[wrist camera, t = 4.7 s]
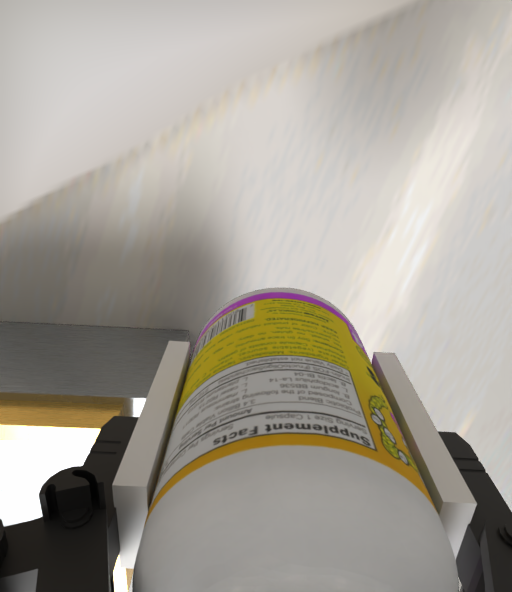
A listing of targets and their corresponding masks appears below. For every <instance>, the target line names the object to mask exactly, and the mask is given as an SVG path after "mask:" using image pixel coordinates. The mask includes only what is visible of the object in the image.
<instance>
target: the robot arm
mask: <svg viewBox="0 0 512 592" xmlns="http://www.w3.org/2000/svg"><path fill="white" fill-rule="evenodd" d="M189 364H190V342H182V341H169V342H168V345H167V348H166V350H165V353H164V355H163V358H162V360H161V363H160V365H159V368H158V370H157V373H156V375H155V378H154V380H153V383H152V385H151V388H150V391H149V393H148V396H147V398H146V401H145V403H144V406H143V408H142V411H141V413H140V416H139V417H129V416H113V417H112V418H111V419H110V420H109V421H108V422H107V423H106V424H104V425H103V426H102V427H101V429H100V431H99V433H98V435H97V437H96V439H95V443H93V445H92V447H91V449H90V453H89V454H88V455H87V457H86V459H85V461H84V463H83V465H82V466H72V467H69V468H66V469H63V470H60V471H59V472H57V473H55V474H54V475H52V476H51V477H50V478H49V479H48V480H47V481H46V482H45V483H44V484H43V485H42V487H41V490H40V492H39V500H40V505H41V511H42V517H40V518H37V519H34V520H31V521H27V522H22V523H18V524H13V525H9V526H3V522H2V520H1V519H0V592H115V587H114V576H113V571H114V568H115V565H116V562H117V559H118V556H119V561H120V568H130V569H134V565H135V560H136V556H137V552H138V548H139V544H140V541H141V537H142V533H143V529H144V525H145V521H146V517H147V514H148V511H149V507H150V504H151V500H152V497H153V494H154V490H155V487H156V483H157V480H158V476H159V472H160V469H161V465H162V462H163V458H164V455H165V451H166V448H167V444H168V441H169V437H170V433H171V430H172V426H173V422H174V419H175V415H176V412H177V408H178V404H179V401H180V397H181V394H182V390H183V386H184V383H185V379H186V375H187V372H188V368H189ZM372 366H373V369H374V371H375V373H376V376H377V378H378V380H379V382H380V384H381V387H382V389H383V391H384V393H385V396H386V399H387V401H388V403H389V405H390V407H391V409H392V412H393V414H394V416H395V419H396V421H397V423H398V425H399V428H400V430H401V432H402V434H403V437H404V439H405V441H406V444H407V446H408V448H409V450H410V453H411V455H412V457H413V459H414V462H415V464H416V466H417V468H418V470H419V473H420V475H421V477H422V480H423V482H424V484H425V486H426V488H427V491H428V493H429V495H430V497H431V499H432V502H433V504H434V506H435V508H436V510H437V513H438V515H439V517H440V520H441V522H442V525H443V527H444V529H445V532H446V534H447V536H448V539H449V541H450V544H451V547H452V550H453V553H454V556H455V561H456V566H457V571H458V577H459V579H460V581H461V584H462V586H461V589H460V592H512V512H511V510H510V509H509V507H508V506H507V504H506V502H505V501H504V499H503V498H502V496H501V494H500V493H499V491H498V490H497V488H496V486H495V485H494V483H493V482H492V480H491V478H490V477H489V475H488V473H486V472H485V469H484V467H483V465H482V464H481V462H480V461H478V457H477V456H476V454H475V453H474V451H473V449H472V448H471V446H470V445H469V444H468V443H467V442H466V441H465V440H464V439H462V438H461V437H460V436H459V435H458V434H457V433H454V432H438V431H437V430H436V428H435V426H434V424H433V422H432V420H431V419H430V417H429V415H428V413H427V411H426V409H425V408H424V406H423V404H422V402H421V400H420V398H419V397H418V395H417V393H416V391H415V389H414V388H413V386H412V384H411V382H410V380H409V378H408V377H407V375H406V373H405V371H404V369H403V367H402V366H401V364H400V362H399V360H398V358H397V356H396V355H395V353H383V352H374V354H373V359H372Z"/></svg>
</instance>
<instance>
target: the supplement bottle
mask: <svg viewBox="0 0 512 592" xmlns="http://www.w3.org/2000/svg"><path fill="white" fill-rule="evenodd" d="M458 583H459V582H458V571H457V566H456V561H455V556H454V553H453V550H452V547H451V544H450V541H449V539H448V536H447V534H446V532H445V529H444V527H443V525H442V522H441V520H440V517H439V515H438V513H437V510H436V508H435V506H434V504H433V502H432V499H431V497H430V495H429V493H428V491H427V488H426V486H425V484H424V482H423V480H422V477H421V475H420V473H419V470H418V468H417V466H416V464H415V462H414V459H413V457H412V455H411V453H410V450H409V448H408V446H407V444H406V441H405V439H404V437H403V434H402V432H401V430H400V428H399V425H398V423H397V421H396V419H395V416H394V414H393V412H392V409H391V407H390V405H389V403H388V401H387V399H386V396H385V393H384V391H383V389H382V387H381V384H380V382H379V380H378V378H377V376H376V373H375V371H374V369H373V366H372V364H371V362H370V360H369V357H368V355H367V353H366V351H365V349H364V346H363V344H362V342H361V340H360V338H359V336H358V334H357V332H356V330H355V329H354V327H353V325H352V324H351V322H350V321H349V320H348V319H347V317H346V316H345V315H344V314H343V313H342V312H341V311H340V310H339V309H338V308H336V307H335V306H334V305H333V304H331V303H330V302H328V301H327V300H325V299H323V298H321V297H319V296H317V295H315V294H312V293H310V292H306V291H303V290H299V289H294V288H267V289H261V290H256V291H252V292H249V293H246V294H244V295H241V296H239V297H237V298H235V299H233V300H232V301H230V302H228V303H227V304H225V305H224V306H223V307H221V308H220V309H219V310H218V311H217V312H216V313H215V314H214V315H213V316H212V317H211V318H210V319H209V321H208V322H207V323H206V325H205V326H204V328H203V329H202V331H201V333H200V335H199V337H198V339H197V342H196V345H195V348H194V350H193V354H192V358H191V361H190V364H189V368H188V372H187V375H186V379H185V383H184V386H183V390H182V394H181V397H180V401H179V404H178V408H177V412H176V415H175V419H174V422H173V426H172V430H171V433H170V437H169V441H168V444H167V448H166V451H165V455H164V458H163V462H162V465H161V469H160V472H159V476H158V480H157V483H156V487H155V490H154V494H153V497H152V500H151V504H150V507H149V511H148V514H147V517H146V521H145V525H144V529H143V533H142V537H141V541H140V544H139V548H138V552H137V556H136V560H135V565H134V573H133V592H459V586H458V585H459V584H458Z"/></svg>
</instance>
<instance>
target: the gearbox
mask: <svg viewBox="0 0 512 592" xmlns="http://www.w3.org/2000/svg"><path fill="white" fill-rule="evenodd" d="M169 341H182V342H188V331H184V330H164V329H143V328H122V327H101V326H81V325H60V324H39V323H18V322H0V519H1V520H2V522H3V526H9V525H13V524H18V523H22V522H27V521H31V520H34V519H37V518H40V517H42V511H41V505H40V500H39V492H40V490H41V487H42V485H43V484H44V483H45V482H46V481H47V480H48V479H49V478H50V477H51V476H52V475H54V474H55V473H57V472H59V471H60V470H63V469H66V468H69V467H72V466H82V465H83V463H84V461H85V459H86V457H87V455H88V454H89V453H90V449H91V447H92V445H93V443H95V439H96V437H97V435H98V433H99V431H100V429H101V427H102V426H103V425H104V424H106V423H107V422H108V421H109V420H110V419H111V418H112V417H113V416H129V417H139V416H140V413H141V411H142V408H143V406H144V403H145V401H146V398H147V396H148V393H149V391H150V388H151V385H152V383H153V380H154V378H155V375H156V373H157V370H158V368H159V365H160V363H161V360H162V358H163V355H164V353H165V350H166V348H167V345H168V342H169ZM133 571H134V569H130V568H120V561H119V556H118V559H117V562H116V565H115V568H114V571H113V576H114V587H115V592H128V590H129V587H130V583H131V579H132V575H133Z"/></svg>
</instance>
